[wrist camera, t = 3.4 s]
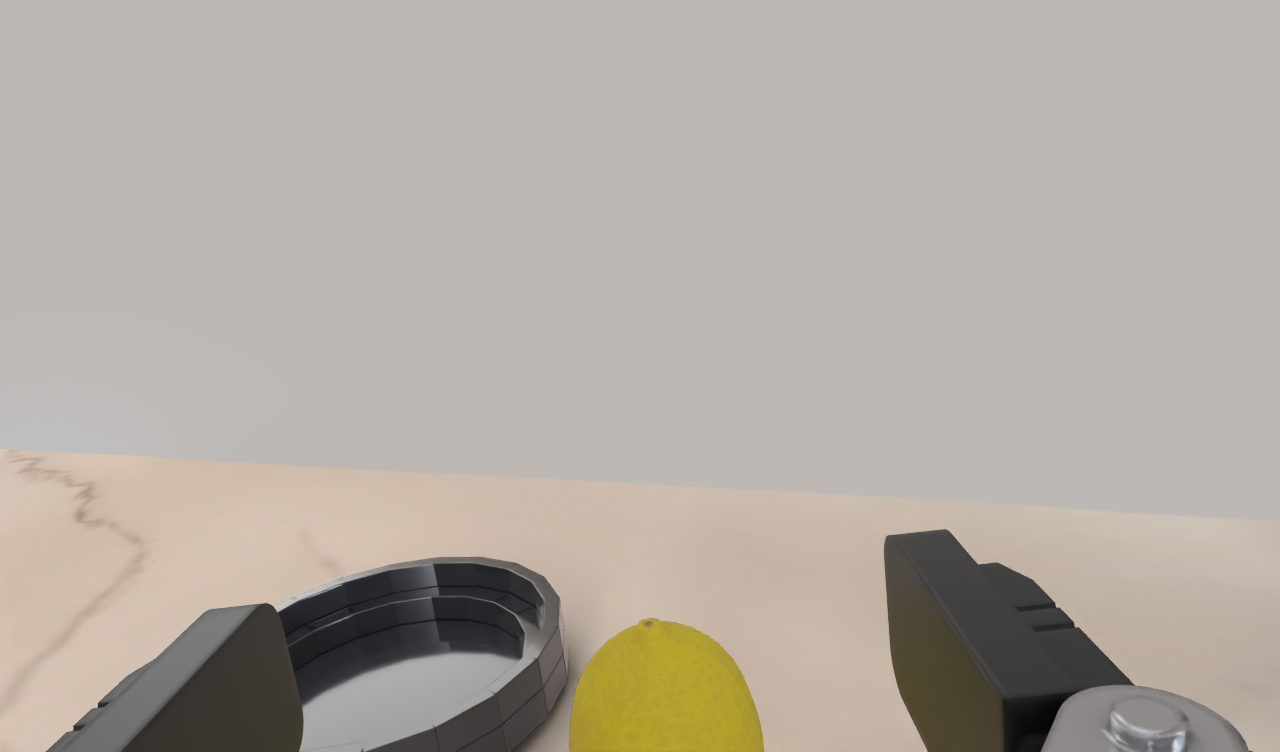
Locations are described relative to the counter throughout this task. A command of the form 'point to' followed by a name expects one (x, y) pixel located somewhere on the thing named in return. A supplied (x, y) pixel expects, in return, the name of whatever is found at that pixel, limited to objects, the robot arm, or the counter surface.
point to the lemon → (663, 695)
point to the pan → (427, 657)
